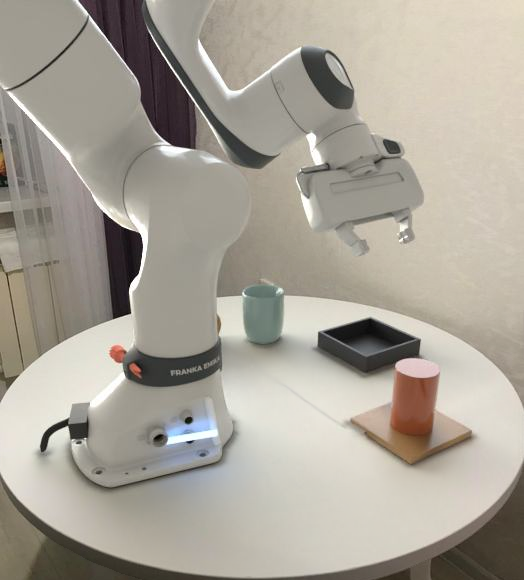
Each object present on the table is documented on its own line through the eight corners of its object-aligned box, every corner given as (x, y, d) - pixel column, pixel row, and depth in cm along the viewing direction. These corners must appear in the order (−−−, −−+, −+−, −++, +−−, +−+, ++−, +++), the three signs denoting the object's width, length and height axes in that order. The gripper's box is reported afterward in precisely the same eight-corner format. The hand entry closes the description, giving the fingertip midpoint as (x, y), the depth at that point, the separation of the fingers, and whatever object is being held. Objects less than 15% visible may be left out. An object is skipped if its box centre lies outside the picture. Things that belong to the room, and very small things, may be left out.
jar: (411, 440, 80) (418, 382, 76) (380, 420, 85) (385, 365, 81) (441, 427, 83) (450, 370, 79) (410, 408, 88) (416, 354, 84)
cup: (236, 345, 111) (235, 295, 107) (253, 330, 118) (252, 282, 114) (275, 351, 109) (275, 300, 104) (289, 335, 115) (290, 287, 111)
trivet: (410, 464, 77) (411, 458, 76) (349, 423, 86) (350, 418, 86) (471, 436, 83) (472, 430, 82) (408, 400, 92) (409, 395, 91)
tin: (364, 376, 99) (366, 357, 98) (317, 349, 109) (317, 331, 108) (419, 357, 106) (421, 339, 104) (369, 333, 116) (370, 316, 114)
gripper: (304, 155, 76) (346, 252, 75) (409, 141, 87) (447, 226, 86) (280, 181, 81) (319, 272, 80) (382, 164, 92) (418, 244, 91)
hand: (386, 248), depth 83 cm, fingers open, 8 cm apart
